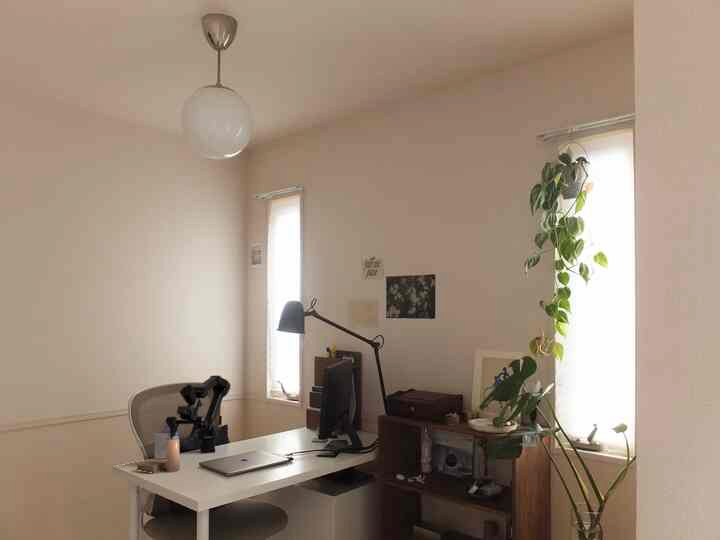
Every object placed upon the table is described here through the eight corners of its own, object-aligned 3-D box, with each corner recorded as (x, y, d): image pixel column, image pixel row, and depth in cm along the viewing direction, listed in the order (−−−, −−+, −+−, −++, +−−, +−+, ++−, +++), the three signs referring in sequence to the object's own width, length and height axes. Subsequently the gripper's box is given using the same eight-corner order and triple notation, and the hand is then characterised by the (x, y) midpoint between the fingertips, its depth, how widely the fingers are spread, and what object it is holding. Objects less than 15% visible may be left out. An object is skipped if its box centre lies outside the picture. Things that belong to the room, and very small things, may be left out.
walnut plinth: (155, 465, 251) (155, 458, 251) (171, 467, 247) (171, 460, 247) (137, 471, 242) (137, 464, 242) (153, 473, 238) (153, 466, 238)
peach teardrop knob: (180, 468, 244) (179, 438, 246) (179, 471, 240) (178, 440, 241) (168, 469, 243) (167, 439, 244) (167, 472, 238) (166, 441, 240)
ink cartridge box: (179, 456, 267) (178, 425, 268) (173, 459, 262) (172, 427, 263) (160, 455, 269) (160, 425, 270) (154, 458, 264) (153, 427, 265)
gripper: (167, 398, 257) (154, 428, 245) (204, 398, 253) (193, 427, 242) (176, 413, 264) (163, 442, 252) (212, 412, 261) (202, 442, 249)
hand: (180, 438), depth 249 cm, fingers open, 9 cm apart
